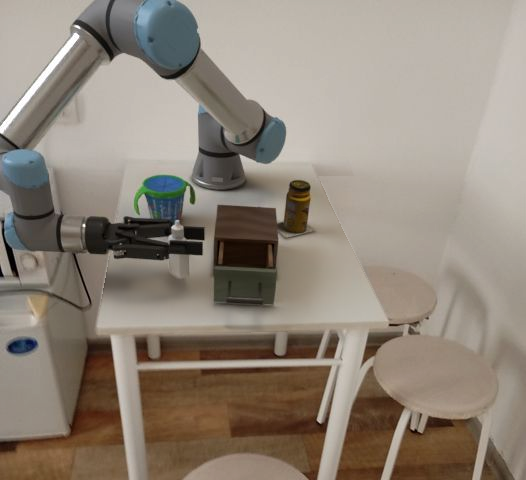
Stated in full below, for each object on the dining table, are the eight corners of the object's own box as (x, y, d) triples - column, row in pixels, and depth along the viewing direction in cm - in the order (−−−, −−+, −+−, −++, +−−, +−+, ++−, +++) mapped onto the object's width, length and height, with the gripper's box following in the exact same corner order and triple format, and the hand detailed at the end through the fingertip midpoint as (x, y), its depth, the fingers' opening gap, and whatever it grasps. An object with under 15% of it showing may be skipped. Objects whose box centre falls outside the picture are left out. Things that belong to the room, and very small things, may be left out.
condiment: (313, 231, 142) (319, 186, 135) (286, 238, 138) (291, 192, 131) (296, 219, 147) (301, 175, 139) (270, 226, 143) (274, 181, 135)
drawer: (274, 324, 109) (278, 291, 104) (211, 321, 109) (212, 288, 104) (271, 267, 126) (274, 236, 121) (216, 264, 125) (217, 233, 120)
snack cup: (141, 235, 134) (138, 196, 128) (130, 216, 141) (126, 177, 135) (202, 226, 140) (202, 188, 133) (188, 208, 147) (188, 171, 141)
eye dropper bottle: (168, 279, 115) (165, 227, 108) (168, 265, 120) (166, 214, 112) (189, 279, 116) (188, 227, 108) (189, 265, 120) (188, 214, 113)
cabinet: (274, 279, 124) (278, 240, 118) (213, 275, 123) (214, 236, 117) (272, 244, 136) (275, 207, 129) (216, 241, 135) (217, 204, 129)
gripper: (99, 229, 121) (206, 235, 123) (79, 275, 107) (200, 281, 109) (95, 197, 116) (206, 203, 118) (74, 241, 102) (200, 247, 104)
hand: (203, 241), depth 113 cm, fingers closed on eye dropper bottle, 5 cm apart
